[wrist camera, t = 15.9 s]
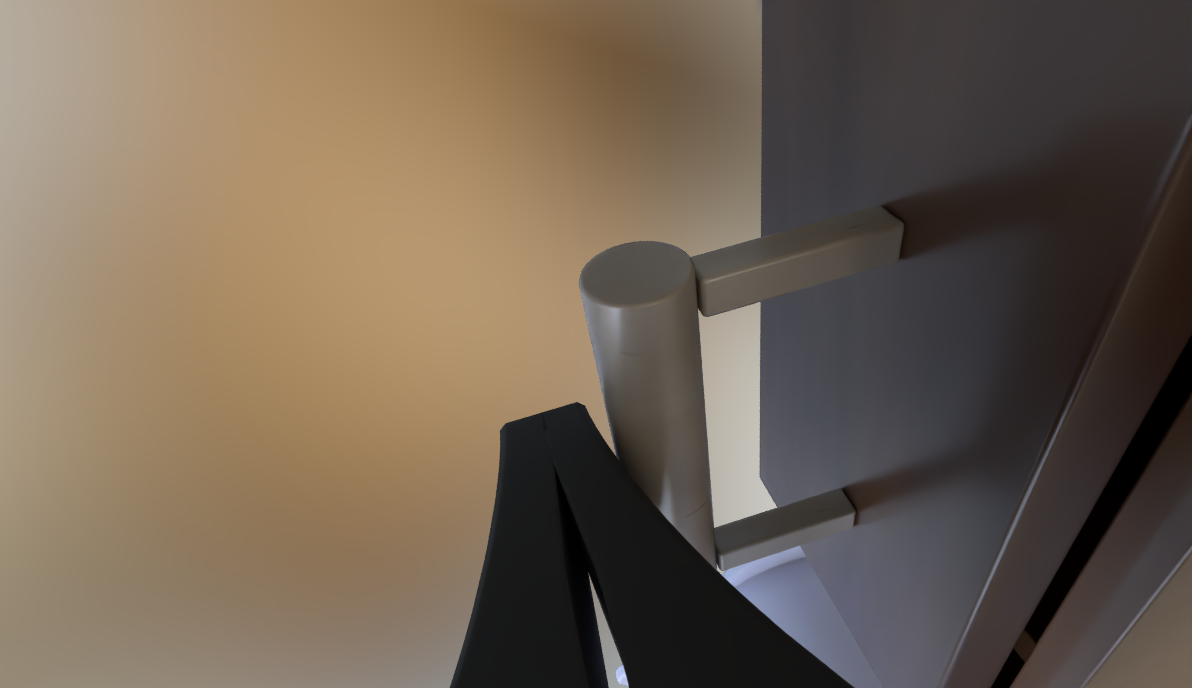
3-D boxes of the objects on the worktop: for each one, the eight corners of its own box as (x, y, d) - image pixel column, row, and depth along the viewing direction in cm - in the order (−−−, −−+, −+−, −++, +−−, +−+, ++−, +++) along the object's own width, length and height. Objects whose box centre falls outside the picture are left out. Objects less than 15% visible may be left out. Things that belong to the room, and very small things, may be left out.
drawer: (615, 522, 17) (712, 819, 12) (472, -60, 8) (599, 77, 3) (1160, 349, 18) (1463, 545, 13) (1506, -294, 10) (2743, -461, 5)
